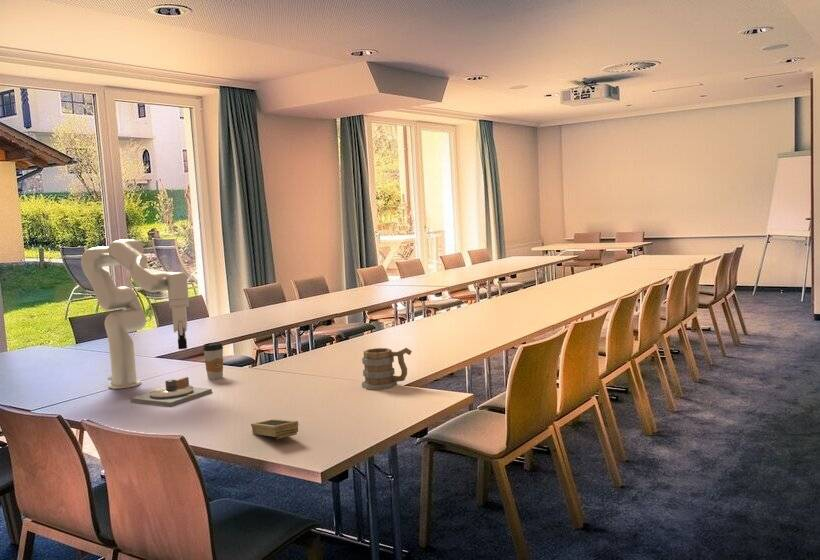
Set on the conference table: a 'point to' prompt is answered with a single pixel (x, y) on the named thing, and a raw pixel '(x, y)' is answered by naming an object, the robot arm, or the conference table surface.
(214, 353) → the coffee cup
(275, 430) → the box
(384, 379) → the tankard
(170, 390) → the dial
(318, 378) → the conference table surface
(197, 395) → the dial plate
